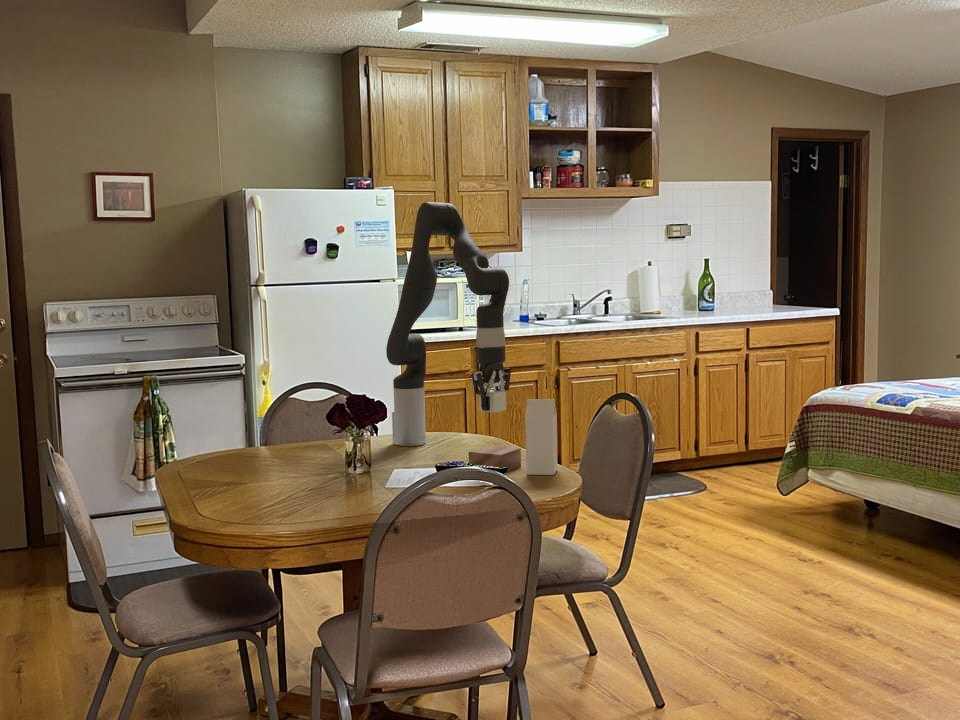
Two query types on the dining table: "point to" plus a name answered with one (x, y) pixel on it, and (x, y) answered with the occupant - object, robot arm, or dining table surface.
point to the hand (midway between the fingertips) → (492, 408)
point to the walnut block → (496, 457)
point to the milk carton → (541, 437)
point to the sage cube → (495, 401)
